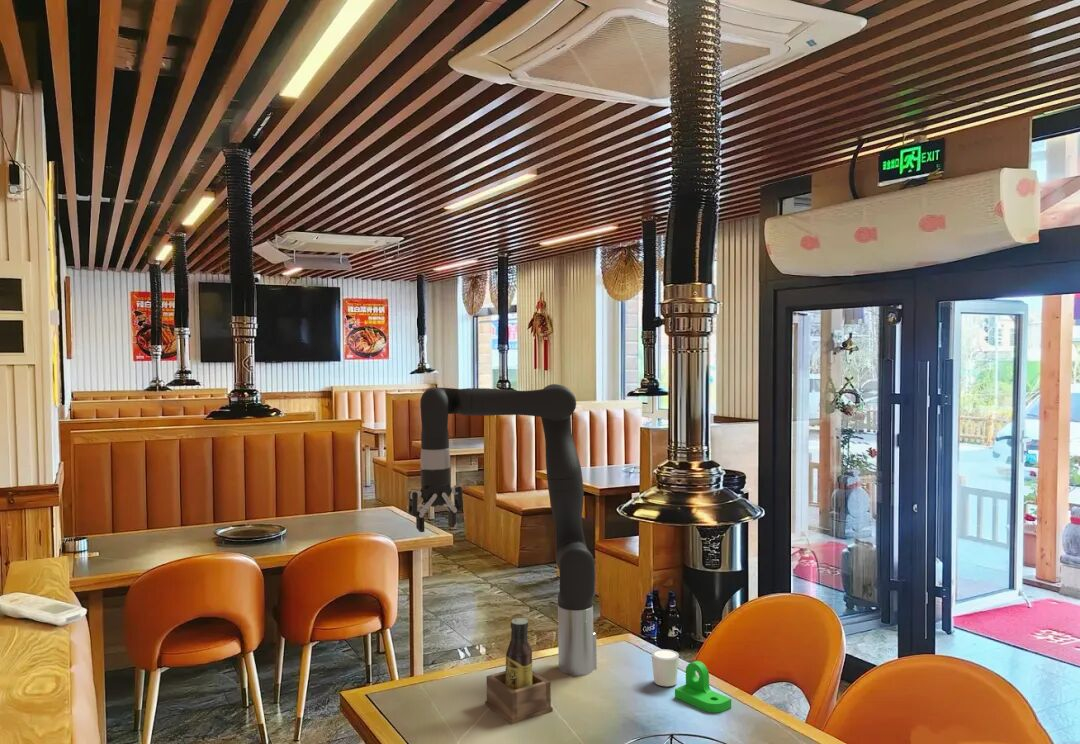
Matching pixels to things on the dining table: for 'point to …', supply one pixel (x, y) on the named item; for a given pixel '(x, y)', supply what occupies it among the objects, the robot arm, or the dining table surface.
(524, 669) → the sauce bottle
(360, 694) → the dining table surface
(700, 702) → the mechanical part
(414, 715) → the dining table surface
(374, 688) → the dining table surface
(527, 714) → the bottle caddy
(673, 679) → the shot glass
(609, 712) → the dining table surface
